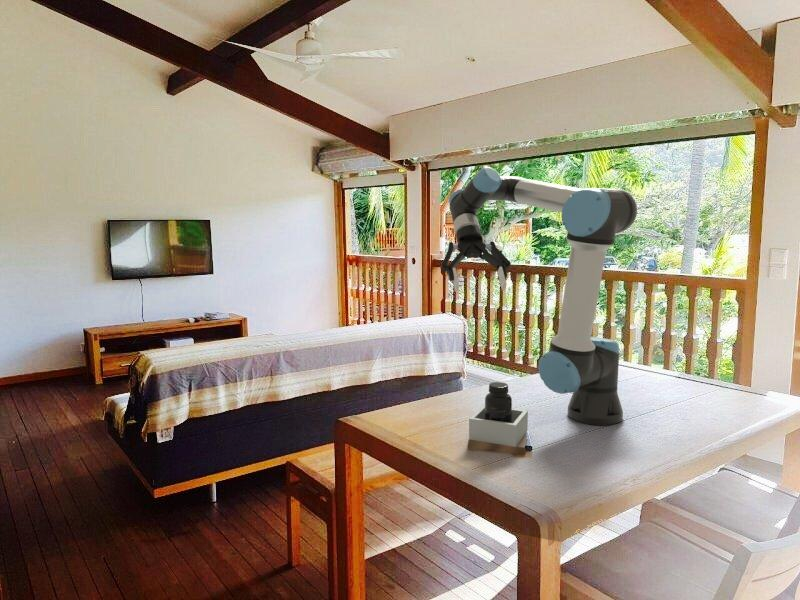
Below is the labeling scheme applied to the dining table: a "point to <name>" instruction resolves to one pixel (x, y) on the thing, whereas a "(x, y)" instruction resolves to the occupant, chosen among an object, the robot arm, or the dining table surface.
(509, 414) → the supplement bottle
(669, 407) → the dining table surface
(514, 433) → the grey square open box
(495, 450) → the walnut plinth
